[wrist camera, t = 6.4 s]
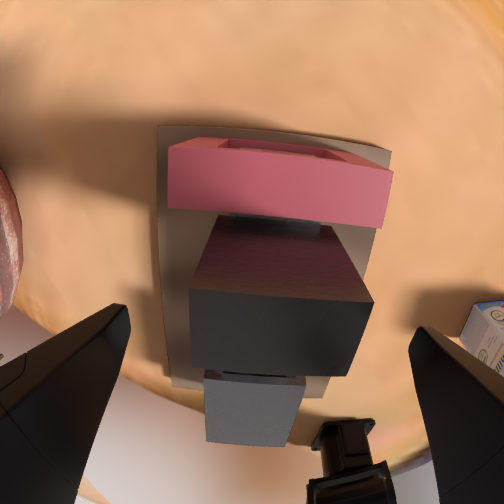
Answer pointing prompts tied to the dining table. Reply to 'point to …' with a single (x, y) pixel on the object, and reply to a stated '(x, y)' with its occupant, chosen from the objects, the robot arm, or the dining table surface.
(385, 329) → the dining table surface
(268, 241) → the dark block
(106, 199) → the dining table surface
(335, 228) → the base board
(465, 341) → the medicine box
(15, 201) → the pottery
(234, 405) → the outer sleeve
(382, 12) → the dining table surface
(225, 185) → the pink open tray
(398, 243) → the dining table surface
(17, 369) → the robot arm
